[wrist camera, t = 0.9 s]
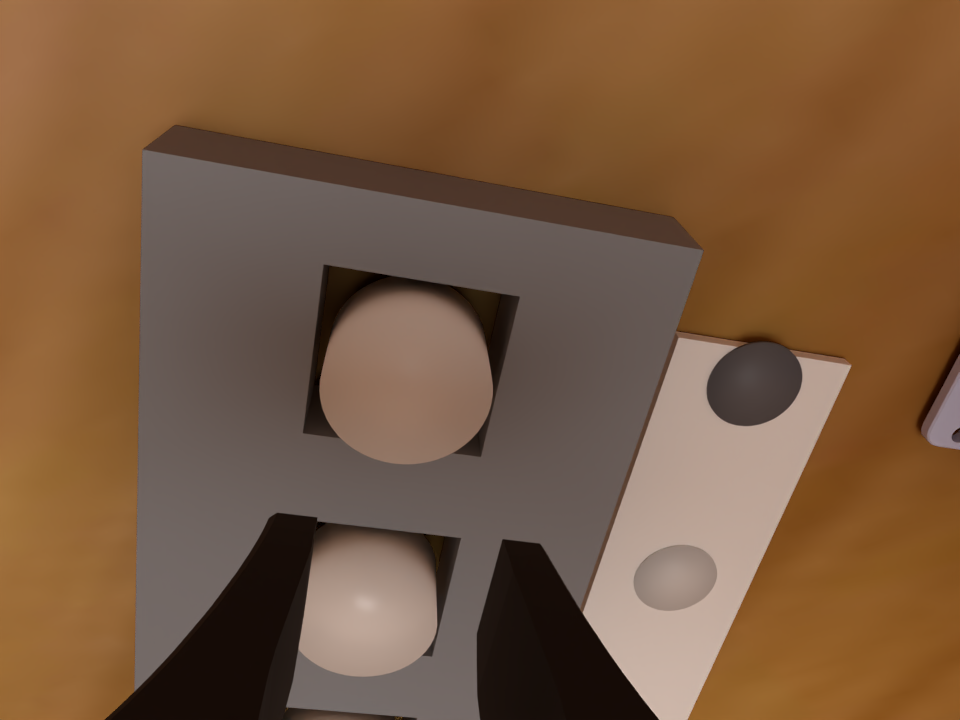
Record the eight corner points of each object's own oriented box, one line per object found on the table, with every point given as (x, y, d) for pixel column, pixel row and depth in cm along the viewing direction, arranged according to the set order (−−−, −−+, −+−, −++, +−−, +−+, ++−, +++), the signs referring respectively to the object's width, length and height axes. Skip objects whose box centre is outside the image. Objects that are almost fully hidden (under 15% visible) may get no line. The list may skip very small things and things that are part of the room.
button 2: (447, 521, 22) (449, 577, 20) (423, 621, 24) (423, 682, 22) (307, 504, 22) (296, 560, 20) (293, 608, 23) (282, 669, 21)
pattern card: (848, 349, 22) (857, 357, 22) (666, 748, 29) (670, 760, 29) (678, 320, 21) (683, 329, 21) (534, 737, 29) (536, 749, 28)
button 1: (500, 289, 19) (509, 329, 17) (469, 423, 21) (474, 474, 19) (339, 263, 19) (330, 300, 17) (321, 403, 20) (310, 452, 18)
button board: (673, 217, 20) (703, 250, 18) (491, 784, 30) (496, 849, 28) (175, 124, 18) (142, 149, 16) (154, 760, 28) (132, 828, 26)
